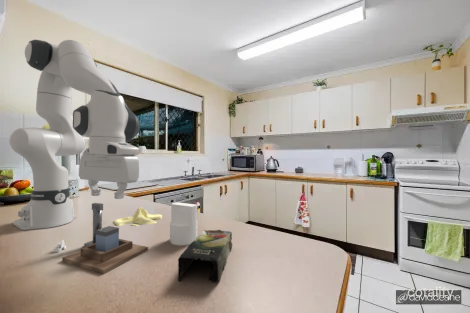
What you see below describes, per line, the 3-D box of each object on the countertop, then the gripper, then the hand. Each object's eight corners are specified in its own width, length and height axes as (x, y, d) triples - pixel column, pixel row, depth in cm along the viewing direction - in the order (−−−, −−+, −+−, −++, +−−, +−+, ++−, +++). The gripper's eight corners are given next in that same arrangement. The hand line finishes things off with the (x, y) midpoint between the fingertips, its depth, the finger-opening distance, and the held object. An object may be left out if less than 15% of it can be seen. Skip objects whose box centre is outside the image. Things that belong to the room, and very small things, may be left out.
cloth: (103, 226, 87) (103, 211, 87) (134, 214, 105) (134, 202, 105) (151, 231, 82) (151, 215, 82) (175, 217, 100) (175, 204, 100)
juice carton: (202, 245, 68) (202, 225, 68) (233, 247, 67) (233, 227, 67) (175, 283, 48) (176, 256, 48) (219, 288, 47) (219, 259, 47)
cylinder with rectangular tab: (202, 237, 74) (202, 203, 74) (186, 247, 66) (186, 208, 66) (181, 233, 78) (182, 200, 78) (164, 242, 70) (164, 205, 70)
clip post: (84, 246, 67) (84, 204, 67) (99, 240, 71) (99, 201, 71) (94, 248, 65) (95, 206, 65) (110, 242, 69) (110, 202, 69)
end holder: (62, 261, 57) (62, 250, 57) (110, 241, 70) (110, 232, 70) (103, 274, 51) (103, 261, 51) (147, 250, 64) (148, 240, 64)
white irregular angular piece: (61, 253, 63) (61, 242, 63) (51, 254, 62) (51, 243, 62) (67, 249, 66) (67, 238, 66) (58, 249, 65) (58, 239, 65)
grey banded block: (95, 253, 60) (95, 230, 60) (109, 247, 63) (109, 226, 63) (105, 256, 58) (105, 232, 58) (118, 250, 62) (118, 227, 62)
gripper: (72, 147, 62) (71, 195, 62) (124, 147, 54) (123, 202, 54) (94, 148, 67) (93, 192, 67) (143, 148, 60) (142, 198, 60)
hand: (107, 197), depth 61 cm, fingers open, 8 cm apart
